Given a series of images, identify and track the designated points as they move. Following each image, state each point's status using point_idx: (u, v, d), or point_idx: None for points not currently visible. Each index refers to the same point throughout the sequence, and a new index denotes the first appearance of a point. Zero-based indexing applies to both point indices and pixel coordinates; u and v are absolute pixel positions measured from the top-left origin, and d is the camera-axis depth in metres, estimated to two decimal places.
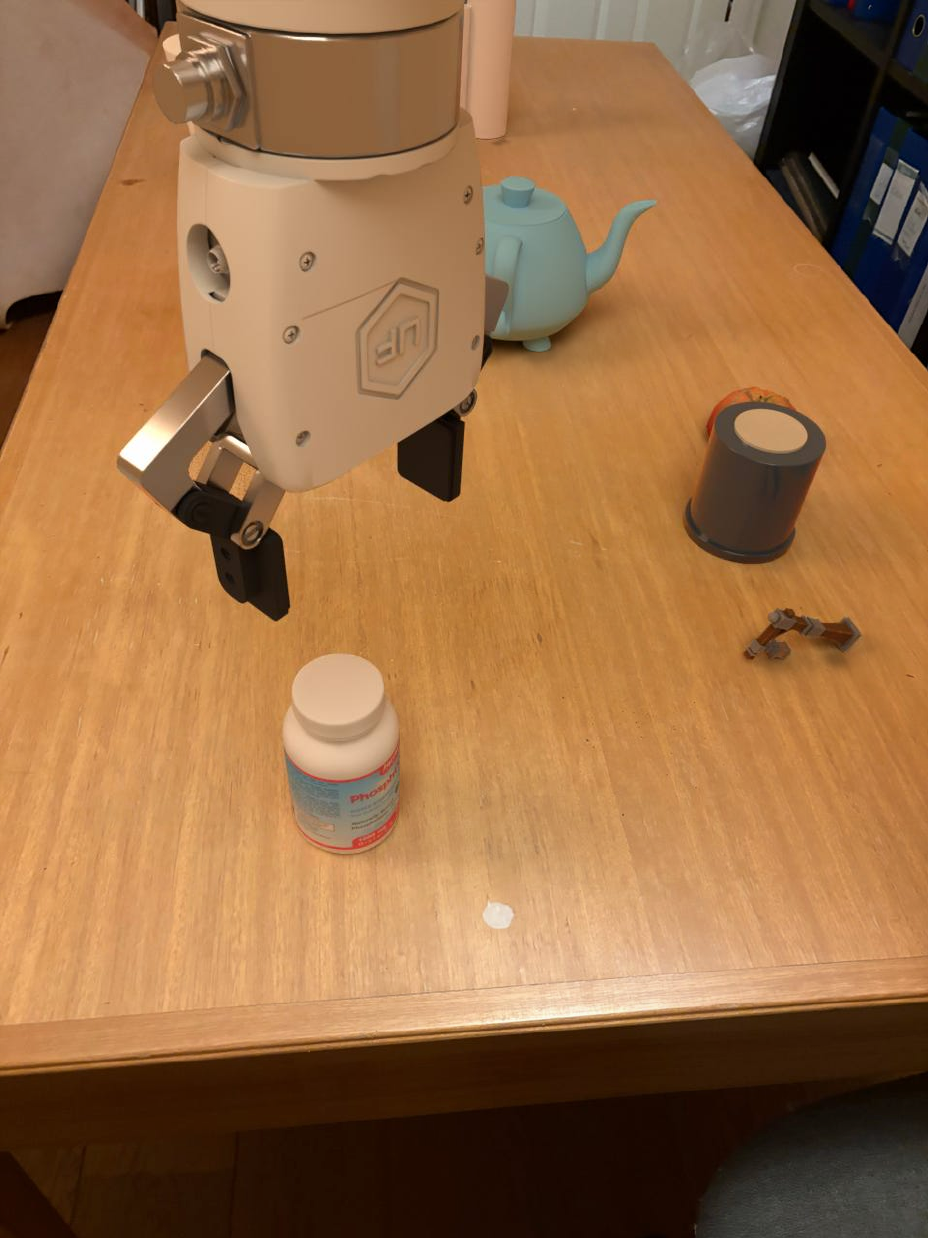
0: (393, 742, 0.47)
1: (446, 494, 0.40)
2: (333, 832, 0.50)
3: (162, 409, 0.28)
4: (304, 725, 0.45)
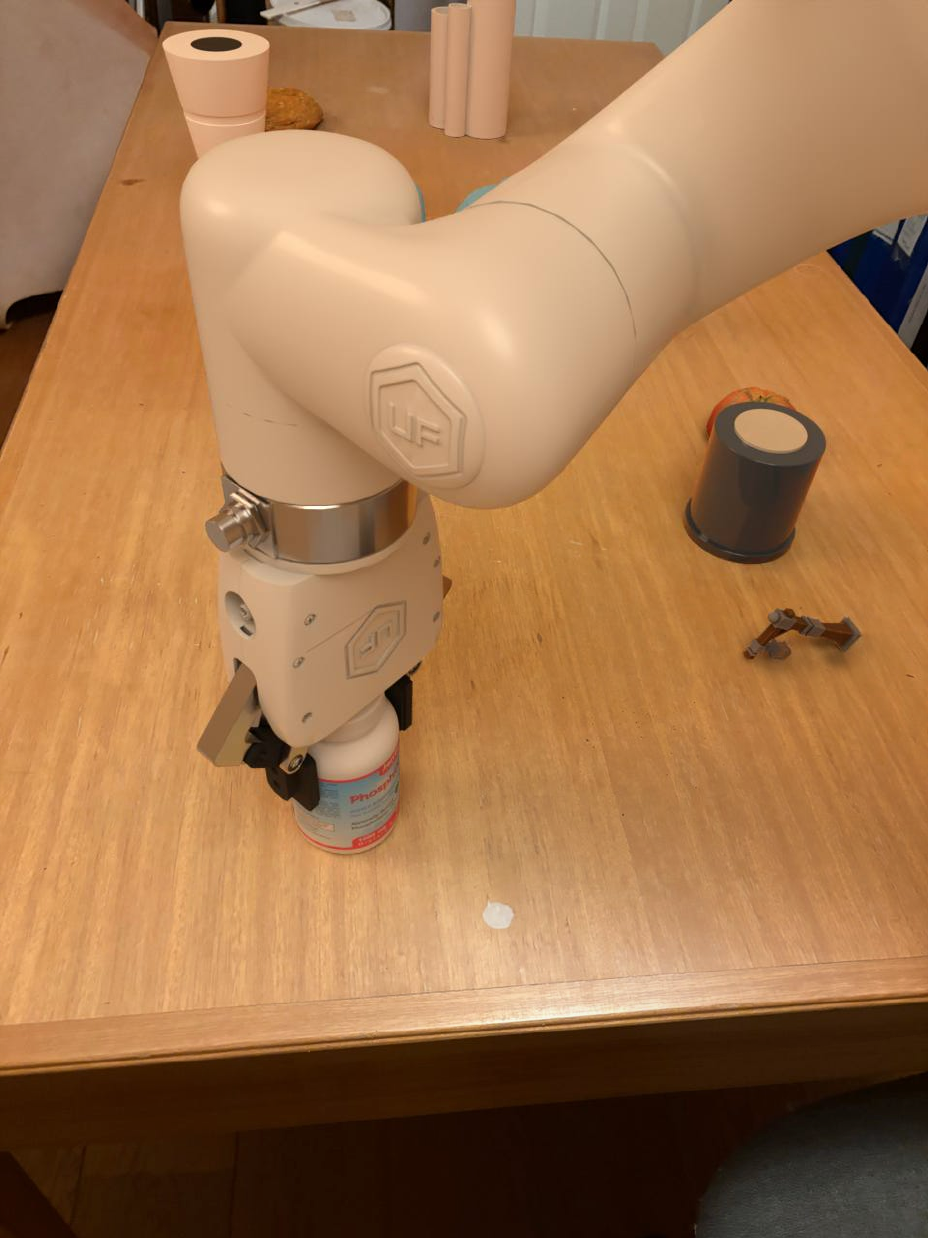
0: (392, 743, 0.47)
1: (400, 727, 0.50)
2: (333, 833, 0.50)
3: (218, 710, 0.40)
4: None
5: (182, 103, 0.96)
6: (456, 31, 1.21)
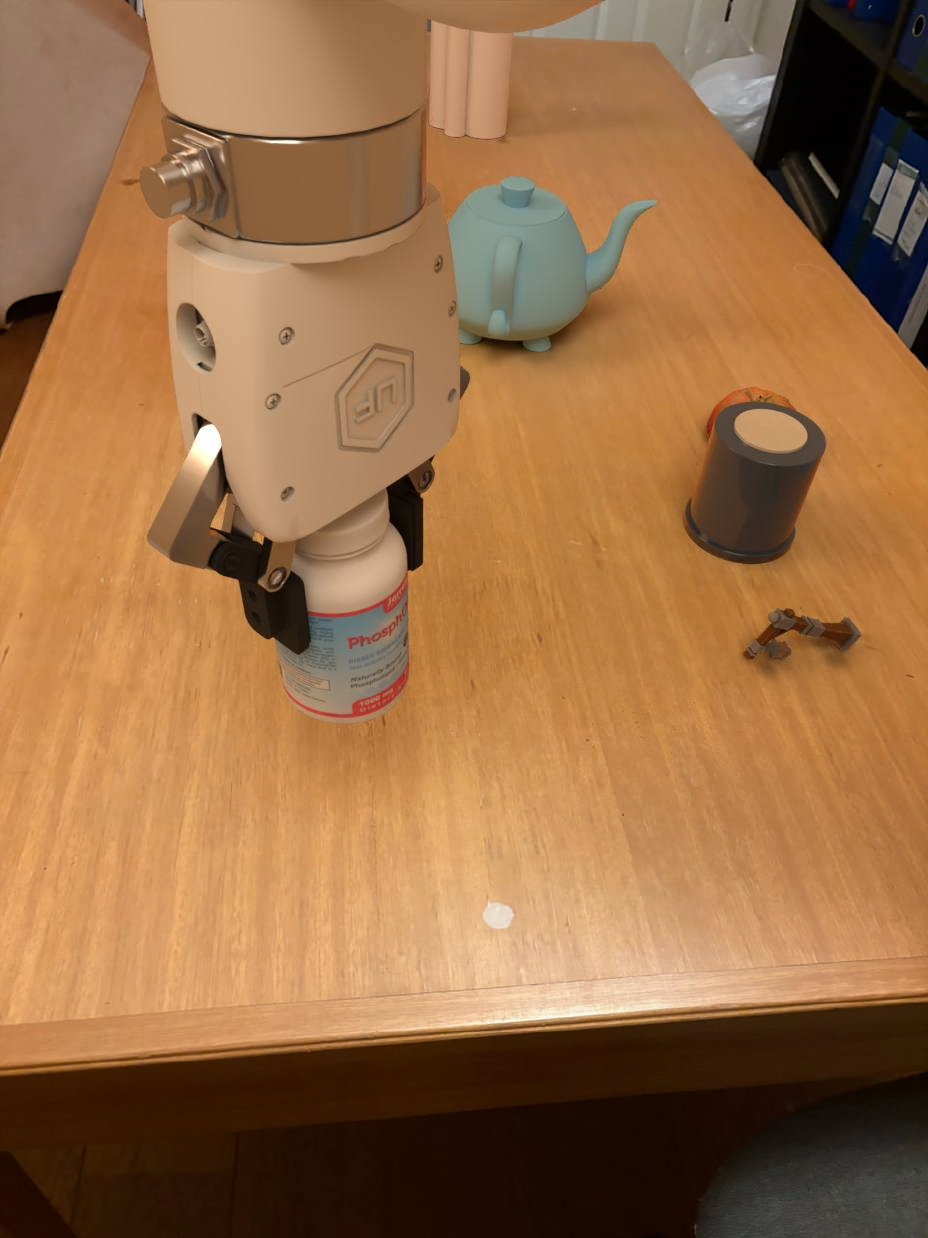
0: (399, 571, 0.38)
1: (409, 564, 0.41)
2: (329, 692, 0.41)
3: (174, 487, 0.31)
4: None
5: None
6: (456, 31, 1.21)
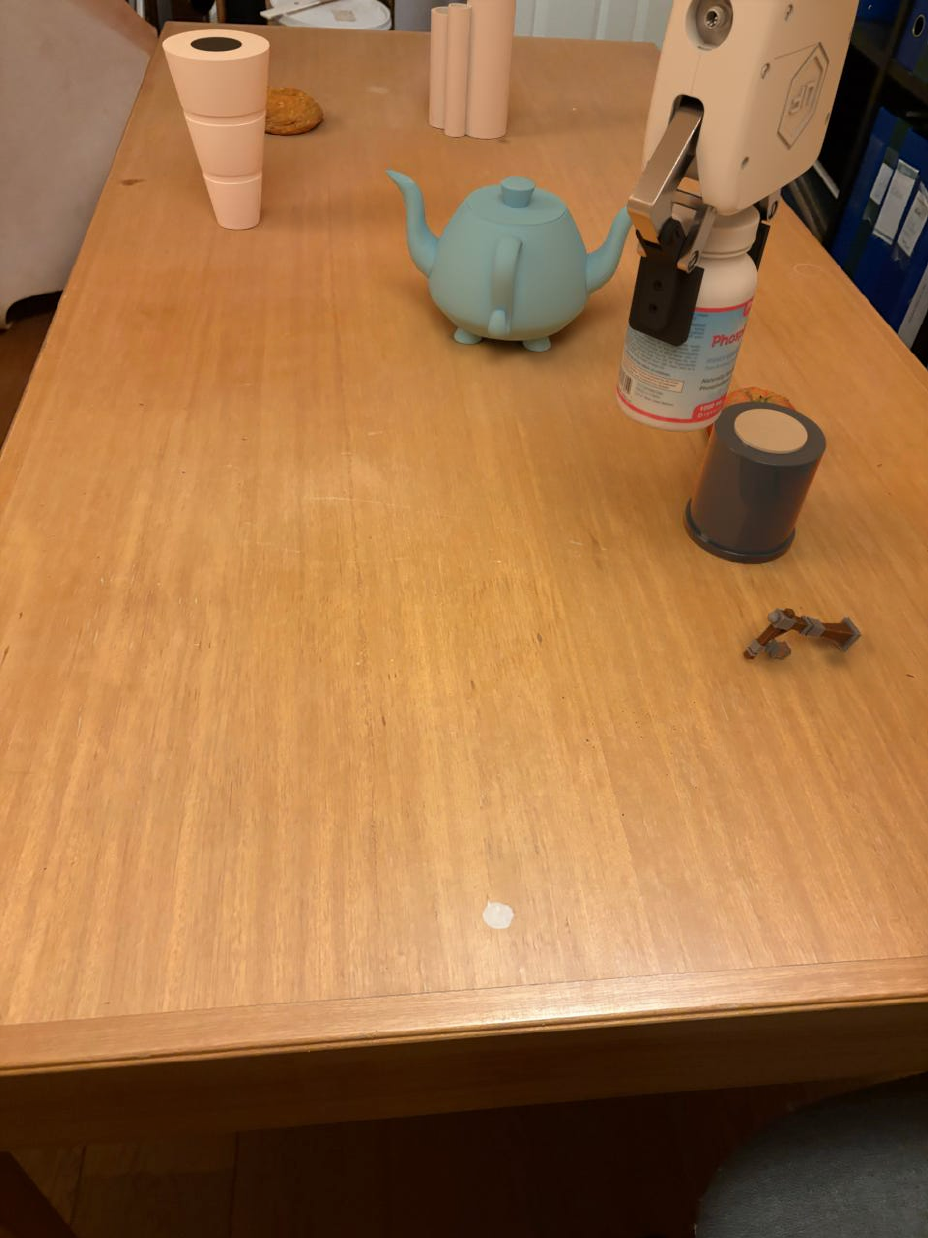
0: (757, 279, 0.47)
1: None
2: (679, 395, 0.49)
3: (653, 159, 0.39)
4: None
5: (182, 103, 0.96)
6: (456, 31, 1.21)
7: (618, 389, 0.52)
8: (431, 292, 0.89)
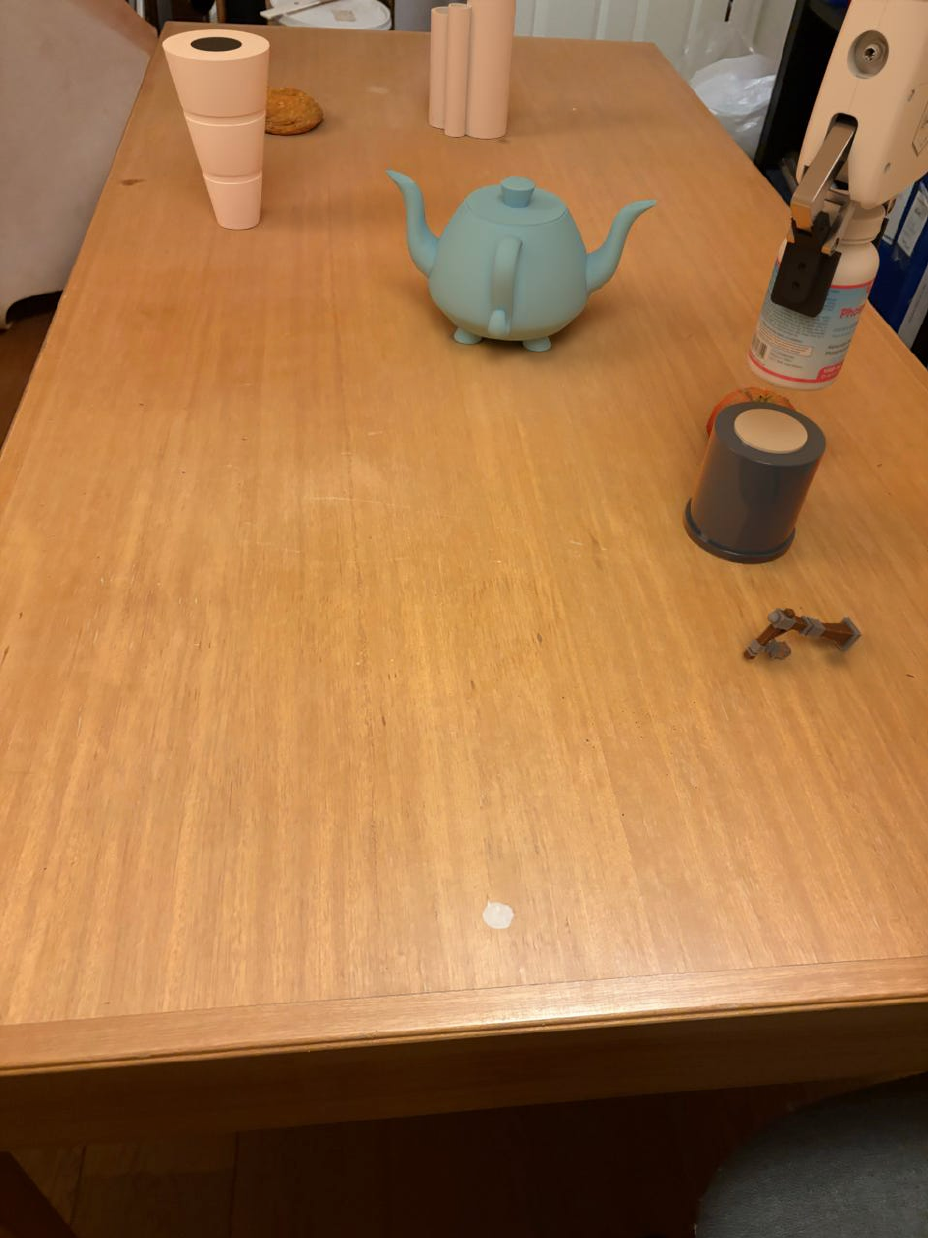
0: None
1: None
2: (808, 358, 0.59)
3: (813, 163, 0.49)
4: None
5: (182, 103, 0.96)
6: (456, 31, 1.21)
7: (751, 355, 0.62)
8: (431, 292, 0.89)
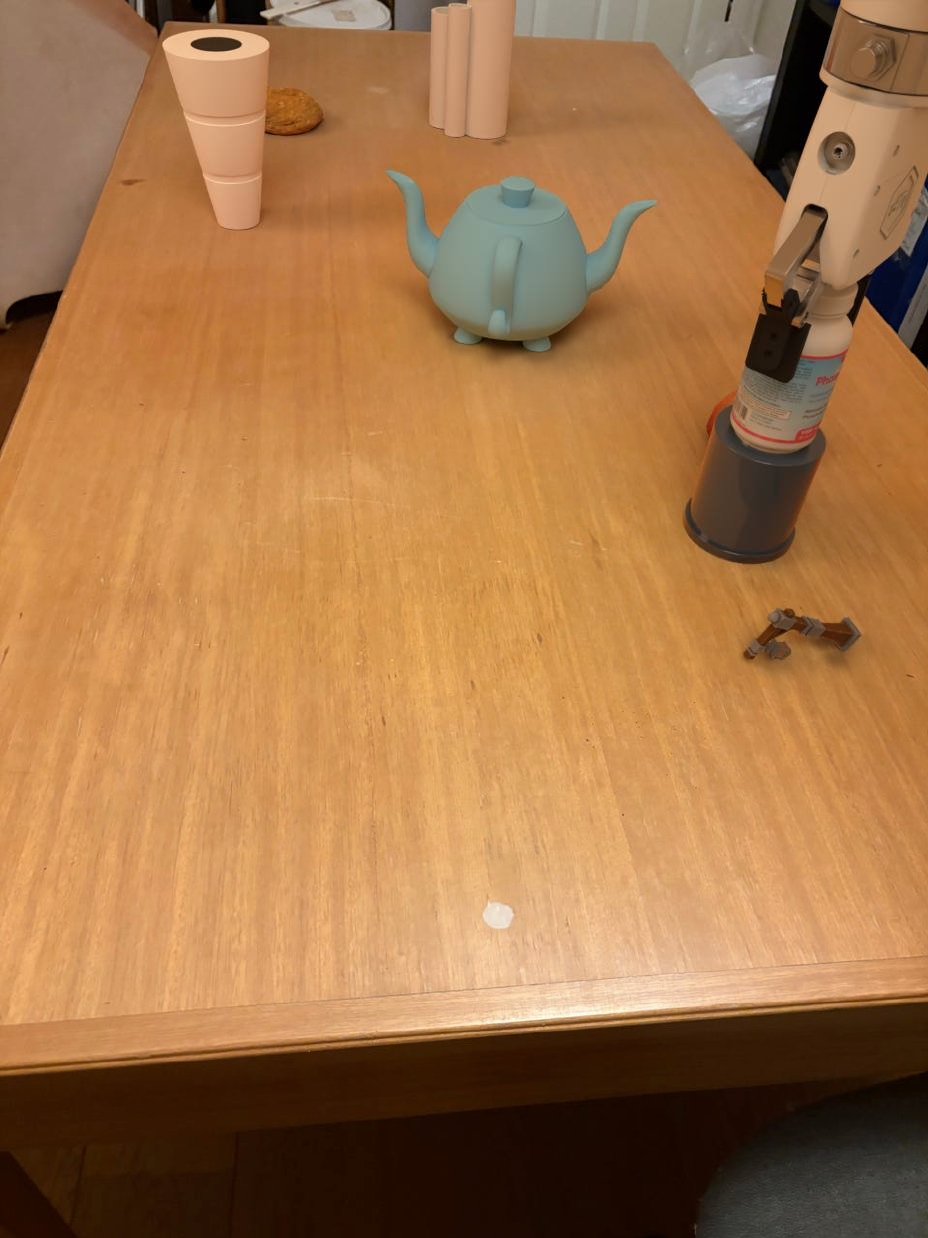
0: (852, 333, 0.60)
1: None
2: (786, 421, 0.63)
3: (787, 240, 0.52)
4: None
5: (182, 103, 0.96)
6: (456, 31, 1.21)
7: (734, 415, 0.66)
8: (431, 292, 0.89)
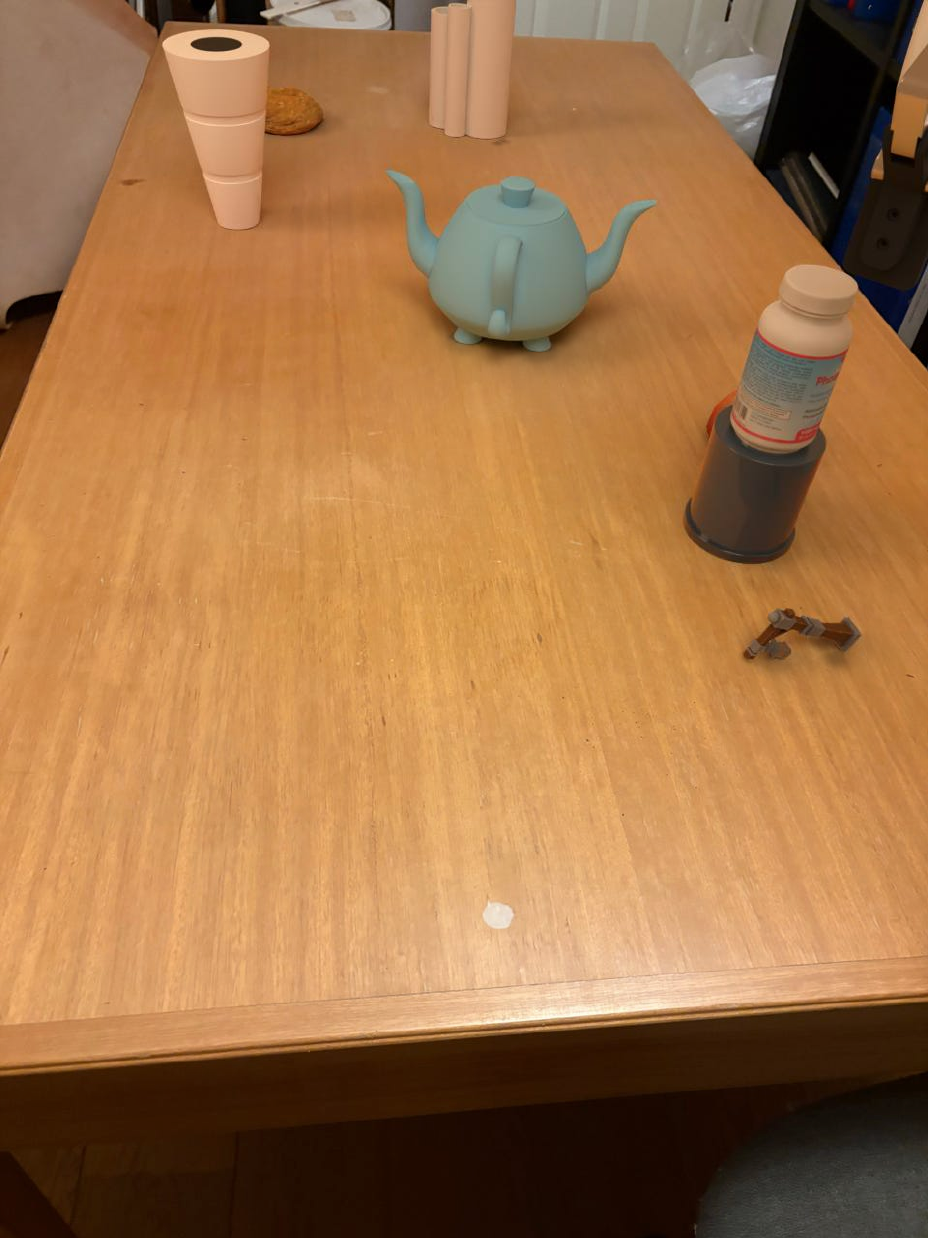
0: (852, 333, 0.60)
1: None
2: (786, 421, 0.63)
3: None
4: (800, 305, 0.58)
5: (182, 103, 0.96)
6: (456, 31, 1.21)
7: (734, 415, 0.66)
8: (431, 292, 0.89)
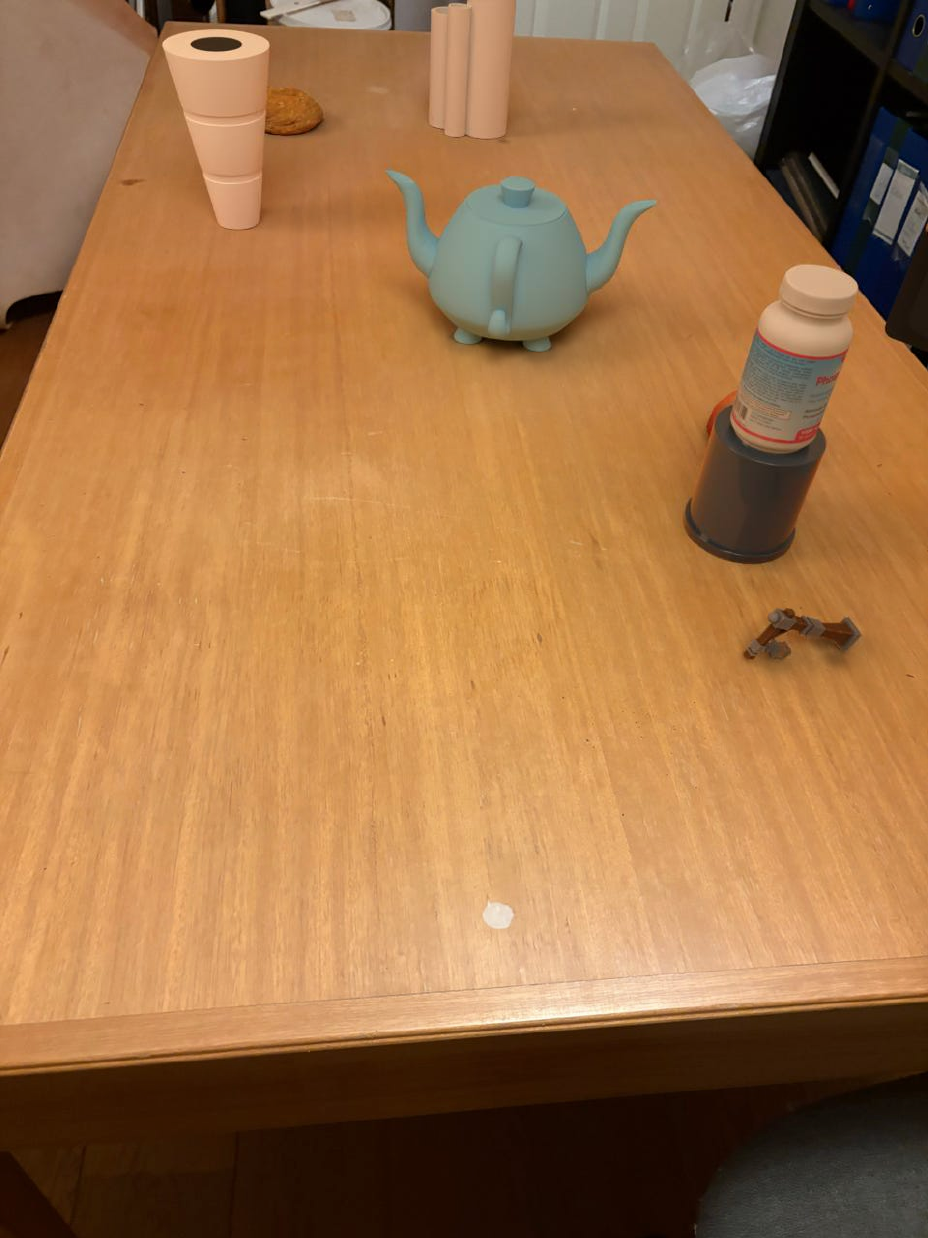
0: (852, 333, 0.60)
1: None
2: (786, 421, 0.63)
3: None
4: (800, 305, 0.58)
5: (182, 103, 0.96)
6: (456, 31, 1.21)
7: (734, 415, 0.66)
8: (431, 292, 0.89)
